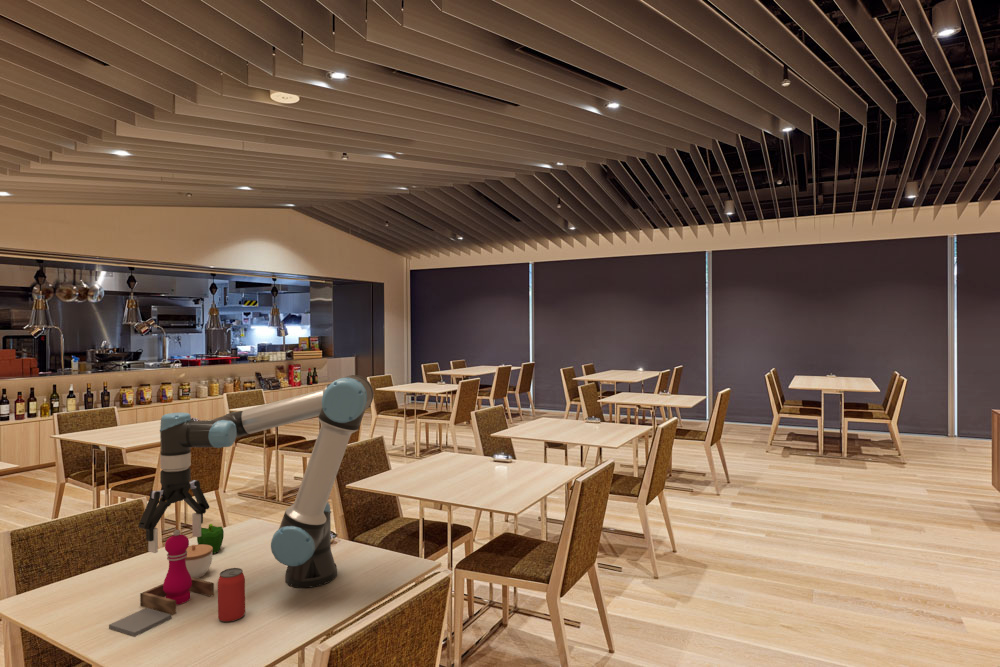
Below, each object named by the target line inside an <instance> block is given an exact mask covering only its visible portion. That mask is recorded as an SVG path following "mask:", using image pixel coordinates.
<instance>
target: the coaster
mask: <svg viewBox="0 0 1000 667" xmlns="http://www.w3.org/2000/svg"><path fill="white" fill-rule="evenodd" d="M172 616H173V615H171V614H167V613H164V612H160V611H156V610H153V609H149V608H145V607H144V608H143V609H141V610H138V611H136V612H134V613H132V614H131V613H130V614H129V615H128V616H124V617H123V618H121V619H119V620H116V621H114V622H112V623H110V624H108V629H110V630H112V631H116V632H119V633H121V634H126V635H130V636H131V637H138V636H139V635H141V634H143V633H145V632H147V631H149V630H151V629H153V628H155V627H157V626H159V625H161V624H164V623H165V622H167V621H170V620H172Z"/></svg>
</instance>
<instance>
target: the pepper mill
mask: <svg viewBox="0 0 1000 667" xmlns="http://www.w3.org/2000/svg"><path fill="white" fill-rule="evenodd" d="M188 546H190V540H189V538H188V536H187V535H185V534H181V530H179V529H175V530H174V531H173V534H172V536H170V537H168V538H167V539H166V541H165V543H164V550H165V551H166V552H167V554H166V556H167V557H166V559H167V560H168V570H167V572H166V575H165V577H164V581H163V583H162V584H163V591H164V592H165V593H166V594H167V595H166V596H165V598H169V599H172V600H176V606H178V605H183V604H184V603H187V602H189V601H190V600H191V591H189V589H190V587H191V586H192V579H191V576H190V574H189V572H188V570H187V567H186V562H185V560H186V557H187V551H186V549H187V548H188Z"/></svg>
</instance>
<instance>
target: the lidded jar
mask: <svg viewBox="0 0 1000 667" xmlns="http://www.w3.org/2000/svg"><path fill="white" fill-rule="evenodd" d="M186 551H187V557H186V560H185V562H186V567H187V570H188V572H189V574H190V576H191V578H195V579H200V578H201V577H203V576H205V574H206V573H207V572H208V570H209V569H210V568H211V565H212V563H213V553H212V552H213V547H212V546H210V545H204V544H200V545H198V544H192V545H189V546H188V548H187V549H186Z"/></svg>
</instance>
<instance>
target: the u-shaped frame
mask: <svg viewBox="0 0 1000 667" xmlns="http://www.w3.org/2000/svg"><path fill="white" fill-rule="evenodd" d="M191 579H192V586H191V587H190V589H189V591H190V593H195V594H199V595H200V594H201V595H203V596H204V595H205V596H208V597H213V596H214V595H215V587H214V586H215V583H214V582H211V581H207V580H202V579H200V578H196V579H195V578H191ZM166 595H167V594H166V593H165V592H164V591H163V583H162V584H160V585H157V586H155V587H153V588H150V589H147V590H146V591H143V592H141V593H139V597H140V598H139V601H140V603H139V605H140V607H142V608H144V609H145V608H149V609H152V610H156V611H159V612H163V613H167V614H170V615H171V616H173V615H177V605H176V600H172V599H169V598H165V596H166Z"/></svg>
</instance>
